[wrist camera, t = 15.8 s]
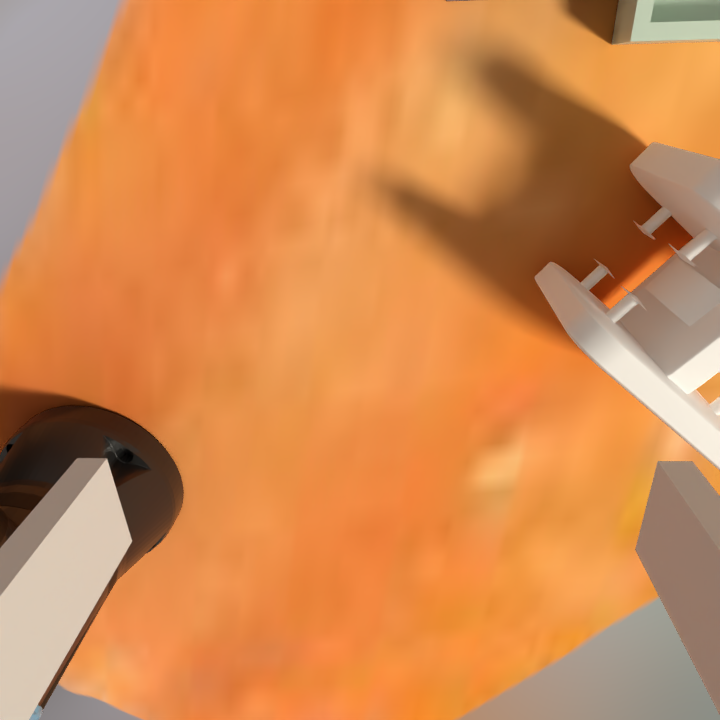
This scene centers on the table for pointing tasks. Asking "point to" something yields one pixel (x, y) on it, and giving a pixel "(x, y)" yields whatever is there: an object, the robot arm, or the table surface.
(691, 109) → the table surface
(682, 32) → the tray
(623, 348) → the cable organizer
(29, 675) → the robot arm
